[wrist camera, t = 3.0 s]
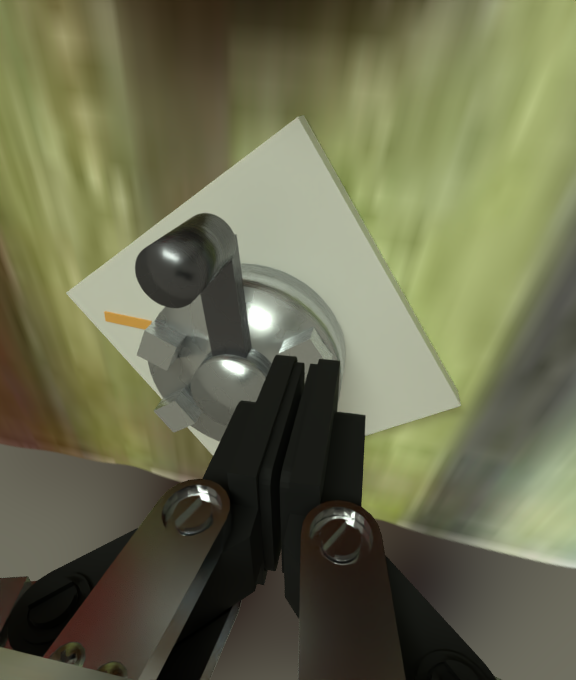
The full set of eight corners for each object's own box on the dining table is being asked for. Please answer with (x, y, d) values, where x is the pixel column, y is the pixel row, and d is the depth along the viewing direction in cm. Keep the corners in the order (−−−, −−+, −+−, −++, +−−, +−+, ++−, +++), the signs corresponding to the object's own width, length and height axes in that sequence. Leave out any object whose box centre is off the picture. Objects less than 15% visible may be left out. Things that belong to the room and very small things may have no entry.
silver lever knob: (345, 424, 27) (330, 537, 20) (189, 410, 29) (129, 506, 22) (346, 189, 19) (323, 243, 12) (135, 194, 21) (21, 243, 15)
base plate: (303, 114, 19) (297, 116, 18) (457, 390, 25) (461, 406, 24) (80, 283, 27) (65, 293, 26) (238, 462, 33) (232, 478, 32)
